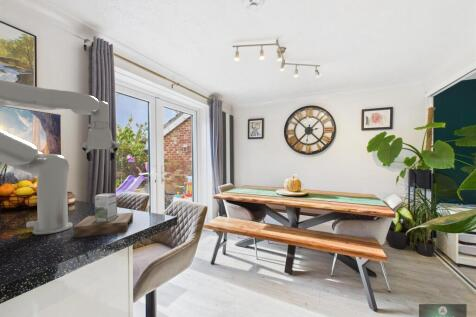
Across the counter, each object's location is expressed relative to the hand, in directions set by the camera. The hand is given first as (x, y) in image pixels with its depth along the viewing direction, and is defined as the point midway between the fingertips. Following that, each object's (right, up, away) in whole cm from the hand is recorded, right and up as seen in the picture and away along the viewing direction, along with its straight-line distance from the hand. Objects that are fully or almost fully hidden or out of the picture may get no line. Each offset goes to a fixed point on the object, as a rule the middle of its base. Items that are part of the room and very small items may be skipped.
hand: (101, 160), depth 106 cm
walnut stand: (+13, -28, -17) cm, 35 cm away
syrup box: (+13, -29, -17) cm, 36 cm away
